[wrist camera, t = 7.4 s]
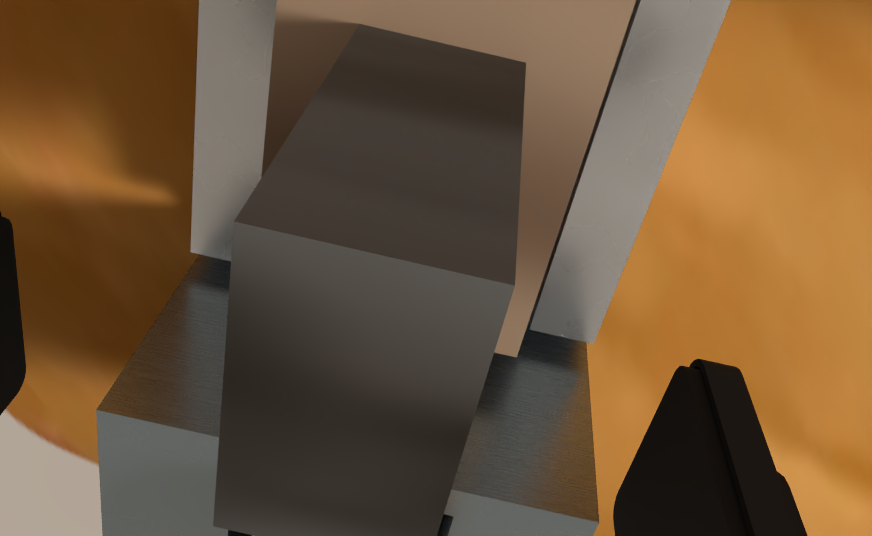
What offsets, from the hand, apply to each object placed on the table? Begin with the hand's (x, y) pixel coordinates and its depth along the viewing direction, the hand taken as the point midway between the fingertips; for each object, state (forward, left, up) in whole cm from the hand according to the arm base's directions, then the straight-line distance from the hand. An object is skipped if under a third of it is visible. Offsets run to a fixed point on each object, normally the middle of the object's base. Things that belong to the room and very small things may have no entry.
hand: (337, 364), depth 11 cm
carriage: (-1, 0, -8) cm, 8 cm away
